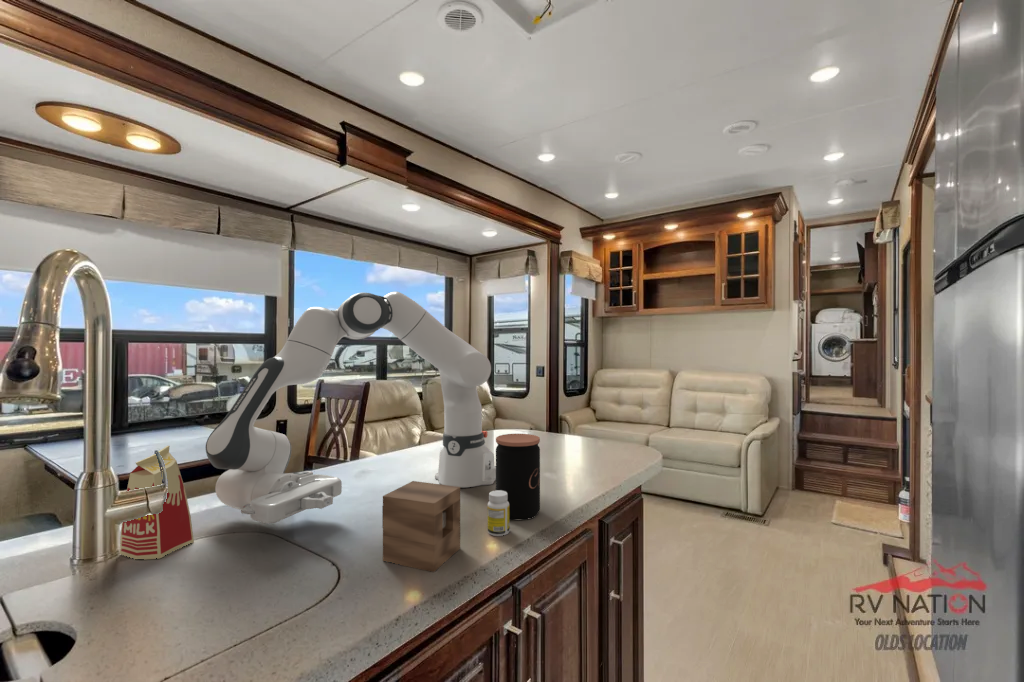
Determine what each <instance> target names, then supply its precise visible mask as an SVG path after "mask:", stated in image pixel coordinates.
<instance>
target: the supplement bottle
mask: <svg viewBox="0 0 1024 682" xmlns="http://www.w3.org/2000/svg"><path fill="white" fill-rule="evenodd" d="M488 500H489V501H487V505H486V506H487V533H488V534H489V535H491V536H494V537H504V536H506V535H508V534H509V533H510V527H511V526H510V522H511V521H510V519H509V502H508V501H507V500H508V495H507V492H505V491H501V490H496V489H495V490H492V491H490V492H489V493H488ZM503 535H504V536H503Z"/></svg>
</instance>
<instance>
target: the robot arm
mask: <svg viewBox="0 0 1024 682" xmlns="http://www.w3.org/2000/svg"><path fill="white" fill-rule="evenodd" d="M381 329H384V330H386V331H388V332H390V333H392V335H394V336H395V337H396V338H398V340H400V341H401V342H402V343H403V344H404V345H406V346H407V347H409V349H410V350H412V351H413V352H414V353H416V355H418V356H419V357H420V358H422V359H423V360H425V361H427V363H429V364H431V365H432V366H434V367H435V368H436V369H437V370H438V372H439V373H438V374H439V377H440V386H441V394H442V399H443V411H444V412H443V414H444V416H443V417H444V426H443V427H444V431H443V433H442V446H443V448H442V449H440V451H439V458H438V469H437V470H438V472H437V473H435V474H434V479H436V480H437V481H438V484H441V485H449V486H457V487H460V488H470V487H471V488H472V487H478V486H487V485H488V486H489V485H493V484H494V483H495V482H496V465H495V454H494V452H493V451H492V450H490V448H489V447H488V446H487V445H486V441H485V439H487V438H488V431H487V430H483V429H482V428H483V423H482V421H483V419H482V418H483V417H482V416H483V413H482V412H483V407H482V403H481V400H480V397H479V393H478V389H477V387H479V386H482V385H483V384H484V383H486V382H487V381H488V380H489V378H490V377H491V372H492V364H491V362H490V360H489V358H488V357H487V356H486V355H485V354H484V353H482V352H480V351H479V350H477V349H476V348H475V347H474V346H473V345H471V344H470V343H468V342H467V341H466V340H464V339H463V338H462V337H460V336H458V335H457V334H456V333H454V332H452V331H451V330H449V328H447V327H446V326H445V325H443V324H442V323H441V321H439V320H438V319H437V318H436V317H434V316H433V315H432V314H431V313H430V312H429V311H428V310H426V309H425V308H424V307H423V306H422V305H420V304H419V303H417V301H416V300H413V299H412V298H410V297H409V296H408V295H405V294H404V293H402V292H400V291H391V292H388V293H387V294H385V295H383V296H382V295H377V294H374V293H370V292H358V293H357V292H356V293H354V294H352V295H351V296H349V297H348V298H347V299H346V300H344V301H343V302H342V303H341V304H340V306H339V307H338V308H337V309H335V310H334V309H328V308H326V307H322V306H312V307H309V308H307V309H305V311H304V312H303V313H302V314H301V316H300V317H299V319H298V320H297V321H296V323H295V325H294V326H293V328H292V330H291V332H290V334H289V335H288V338H287V339H286V340H285V341H286V342H285V343H284V345H283V347H282V348H281V350H280V351H279V352H278V353H277V354H276V355H275V356H273V357H269V358H268V359H266V360H265V361H263V362H262V363H261V364H260V366H259V367H258V368H257V370H256V371H255V372H254V373H253V375H252V377H251V378H250V380H249V381H248V383H247V384H246V386H245V387H244V388H243V390H242V392H241V393H240V394H239V397H238V398H237V399H236V401H235V402H234V404H233V405H232V406H231V408H230V410H229V411H228V413H227V414H226V415H225V417H224V418H223V419H222V420H221V421H220V423H219V424H218V425H216V427H215V428H214V429H213V430H212V431H211V433H210V435H209V436H208V438H207V439H206V442H205V453H206V457H207V459H208V461H209V462H210V464H211V465H212V466H213V467H214V468H216V469H219V470H225V471H224V472H223V473H221V475H219V477H218V478H217V481H216V482H215V495H216V497H217V498H218V501H220V502H221V503H222V504H223V505H225V506H228V507H230V508H232V509H236V510H239V511H240V512H241V514H242V515H243V514H244V515H250V516H249V517H250V519H251V520H254V521H257V522H260V523H262V524H267V525H268V524H276V523H277V522H280V521H283V520H285V519H287V518H289V517H292V516H293V515H294V516H295V515H296V514H298V513H302V512H303V511H305V510H311V509H321V510H322V509H324V508H326V507H329V506H331V505H333V504H334V501H333V500H334V498H335V497H338V496H340V495H341V494H342V491H343V490H342V488H343V487H342V486H343V483H342V480H341V478H339V477H335V476H332V475H326V474H317V473H316V474H314V472H313V471H311V470H304V471H299V472H298V471H297V472H289V473H288V472H286V470H287V468H288V466H289V463H290V459H291V457H292V444H291V441H290V439H289V438H288V436H287V435H286V434H283V433H280V432H277V431H273V430H269V429H264V428H260V427H256V426H254V424H255V423H256V420H257V419H258V417H259V416H260V414H261V413H262V410H264V408H265V407H266V405H267V403H268V402H269V400H270V399H271V397H272V396H273V394H275V392H276V391H278V390H279V389H281V388H284V387H287V386H293V385H294V386H295V385H306V384H309V383H311V382H314V381H316V380H318V379H319V378H321V377H322V375H323V374H324V373H325V371H326V370H327V368H328V365H329V363H330V361H331V358H332V356H333V354H334V351H335V348H336V346H337V344H338V343H339V342H340V340H341V341H342V340H343V341H350V342H351V341H353V342H355V341H356V342H357V341H361V340H364V339H366V338H368V337H371V336H372V335H373V334H375V333H376V331H379V330H381Z"/></svg>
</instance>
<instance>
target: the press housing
mask: <svg viewBox="0 0 1024 682" xmlns="http://www.w3.org/2000/svg"><path fill="white" fill-rule="evenodd" d="M382 506H383V527H382V562H383V561H387V562H386V563H388V562H392V563H391V564H393V563H395V564H394V565H398V564H400V565H399V566H402V567H403V566H404V567H406V568H407V567H408V568H413V569H418V570H422V571H427V572H433V573H435V572H436V571H437V570H438V569H439V568H440V567H442V565H444V564H445V563H446V562H447V561H448V560H449V559H450V558H451V557H452V556H454V555H455V554H456V553H457V552H458V551H459V550H460V549H461V487H457V486H449V485H442V484H440V483H432V482H426V481H425V482H424V481H423V482H422V481H416V480H412V481H409V482H408V483H406V484H404V485H402V486H400V487H398V488H396V489H394V490H393V491H391V492H388V493H386V494H384V495H382ZM443 511H446V527H444V528H443ZM444 562H445V563H444ZM443 563H444V564H443Z"/></svg>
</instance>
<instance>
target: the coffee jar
mask: <svg viewBox="0 0 1024 682" xmlns="http://www.w3.org/2000/svg"><path fill="white" fill-rule="evenodd" d="M540 440H541V438H540V436H537V435H535V434H531V433H530V434H529V433H506V434H502V435H500V434H499V435H498V436H496V437H495V442H496V444H497V446H496V447H495V466H496V480H495V491H496V490H501V491H505V492H507V495H508V500H507V501H508V502H509V520H510V519H527V520H529V519H528V518H531V519H533V518H534V516H535V517H536V516H537V515H538V514H539V512H540V510H541V449H540V446H539V444H540V442H541V441H540ZM537 513H538V514H537ZM532 517H533V518H532Z"/></svg>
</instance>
